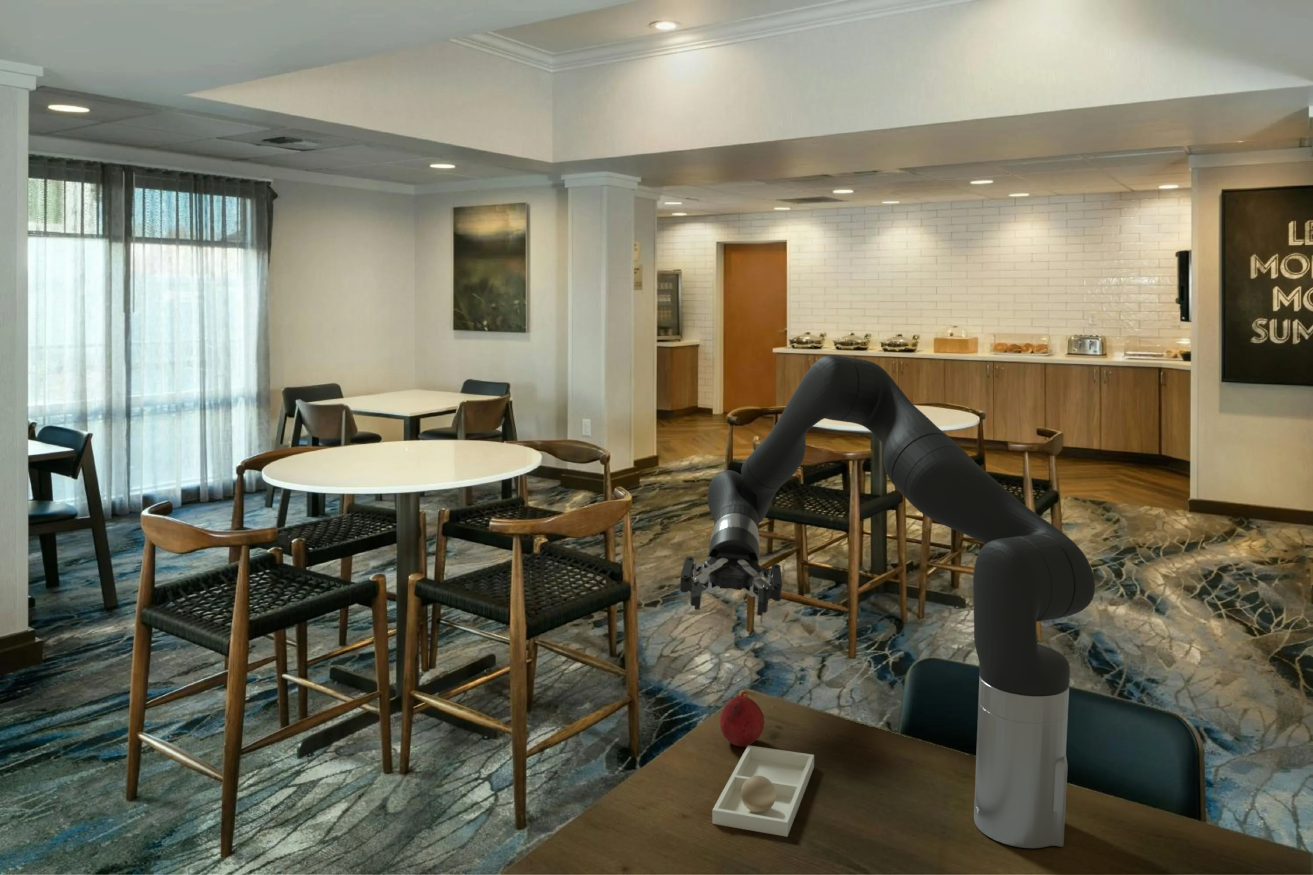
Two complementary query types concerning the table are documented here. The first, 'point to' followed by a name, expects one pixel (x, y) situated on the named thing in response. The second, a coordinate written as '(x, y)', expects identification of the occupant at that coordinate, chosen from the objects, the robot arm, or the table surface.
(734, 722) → the onion
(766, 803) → the beige wooden ball
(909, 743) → the table surface
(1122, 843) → the table surface
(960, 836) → the table surface
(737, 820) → the white divided tray
